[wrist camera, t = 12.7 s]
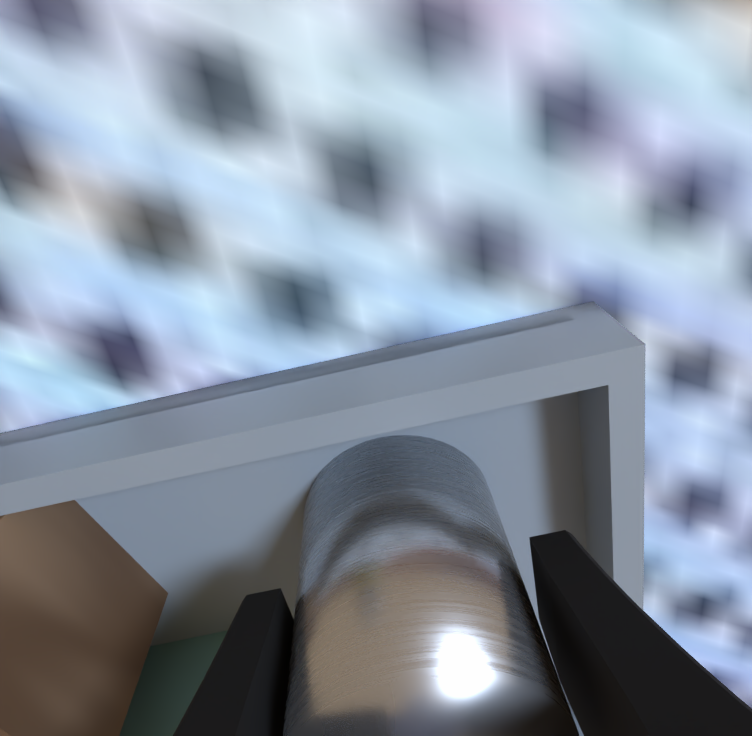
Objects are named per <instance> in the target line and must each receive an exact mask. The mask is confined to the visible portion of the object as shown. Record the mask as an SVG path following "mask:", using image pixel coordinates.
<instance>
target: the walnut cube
mask: <svg viewBox="0 0 752 736" xmlns="http://www.w3.org/2000/svg"><path fill="white" fill-rule="evenodd" d="M167 596H168V592H167V591H166V590H165V589H164V588H163V587H162V586H161V585H160V584H159V583H158V582H157V581H156V580H155V579H154V578H153V577H152V576H151V575H150V574H149V573H148V572H147V571H146V570H145V569H144V568H143V567H142V566H141V565H140V564H139V563H138V562H137V561H136V560H135V559H134V558H133V557H132V556H131V555H130V554H129V553H128V552H127V551H126V550H125V549H124V548H123V547H121V546H120V545H119V544H118V543H117V542H116V541H115V540H114V539H113V538H112V537H111V536H110V535H109V534H108V533H107V532H106V531H105V530H104V529H103V528H102V527H101V526H100V525H99V524H98V523H97V522H96V521H95V520H94V519H93V518H92V517H91V516H90V515H89V514H88V513H87V512H86V511H85V510H84V509H83V508H82V507H81V506H80V505H79V504H78V503H77V502H76V501H75V500H71V501H67V502H62V503H57V504H53V505H48V506H43V507H39V508H34V509H30V510H25V511H20V512H16V513H11V514H6V515H2V516H0V736H119V735H120V732H121V729H122V726H123V723H124V720H125V718H126V715H127V712H128V709H129V706H130V703H131V700H132V697H133V694H134V692H135V689H136V686H137V683H138V680H139V677H140V674H141V671H142V668H143V665H144V663H145V660H146V657H147V654H148V651H149V648H150V645H151V642H152V639H153V637H154V634H155V631H156V628H157V625H158V622H159V619H160V616H161V613H162V610H163V608H164V605H165V602H166V599H167Z"/></svg>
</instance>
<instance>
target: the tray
mask: <svg viewBox="0 0 752 736" xmlns="http://www.w3.org/2000/svg"><path fill="white" fill-rule="evenodd" d="M392 435H413V436H422V437H427V438H432V439H435V440H438V441H442V442H444V443H446V444H449V445H451V446H453V447H455V448H456V449H458V450H460V451H461V452H463V453H464V454H465V455H467V456H468V457H469V458H470V459H471V460H472V461H473V462H474V463H475V464H476V465H477V466H478V467H479V469H480V470H481V472H482V474H483V475H484V477H485V479H486V482H487V484H488V486H489V489H490V492H491V495H492V497H493V500H494V503H495V506H496V508H497V511H498V514H499V516H500V519H501V522H502V525H503V527H504V530H505V533H506V536H507V538H508V541H509V544H510V547H511V549H512V552H513V555H514V557H515V560H516V563H517V566H518V568H519V571H520V574H521V577H522V579H523V582H524V585H525V588H526V590H527V593H528V596H529V598H530V601H531V604H532V607H533V609H534V612H535V615H536V618H537V620H538V623H539V626H540V629H541V631H542V634H543V637H544V639H545V642H546V645H547V648H548V650H549V647H548V644H547V641H546V638H545V635H544V632H543V629H542V626H541V623H540V620H539V615H538V606H537V598H536V589H535V581H534V573H533V564H532V556H531V548H530V539H529V537H533V536H538V535H543V534H548V533H552V532H557V531H562V530H566V531H568V532H570V533H571V534H573V536H574V537H575V538H576V539H577V540H578V542H579V543H580V544H581V545H582V546H583V547H584V549H585V550H586V551H587V552H588V553H589V554H590V555H591V557H592V558H593V559H594V560H595V561H596V562H597V563H598V564H599V565H600V566H601V567H602V569H603V570H604V571H605V572H606V573H607V574H608V575H609V576H610V577H611V578H612V579H613V580H614V581H615V582H616V583H617V584H618V585H619V586H620V588H621V589H622V590H623V591H624V592H625V593H626V594H627V595H628V596H629V597H630V598H631V599H632V600H633V601H634V602H635V603H636V604H637V605H638V606H639V607H640V608H641V609H642V610H643V568H644V446H645V344H644V343H643V342H642V341H641V340H640V339H638V338H637V337H636V336H635V335H633V334H632V333H631V332H630V331H629V330H627V329H626V328H625V327H624V326H622V325H621V324H620V323H619V322H618V321H616V320H615V319H614V318H613V317H611V316H610V315H609V314H608V313H607V312H605V311H604V310H603V309H602V308H600V307H599V306H598V305H597V304H596V303H594V302H589V303H584V304H580V305H576V306H571V307H567V308H562V309H558V310H553V311H549V312H544V313H540V314H535V315H531V316H526V317H522V318H517V319H513V320H508V321H504V322H499V323H495V324H490V325H486V326H481V327H477V328H472V329H468V330H463V331H459V332H454V333H450V334H445V335H441V336H436V337H432V338H427V339H423V340H418V341H414V342H409V343H405V344H400V345H396V346H391V347H387V348H382V349H378V350H373V351H369V352H364V353H360V354H355V355H351V356H346V357H342V358H337V359H333V360H328V361H324V362H319V363H315V364H310V365H306V366H301V367H297V368H292V369H288V370H283V371H279V372H274V373H270V374H265V375H261V376H256V377H252V378H247V379H243V380H238V381H234V382H229V383H225V384H220V385H216V386H211V387H207V388H202V389H198V390H193V391H189V392H184V393H180V394H175V395H171V396H166V397H162V398H157V399H153V400H148V401H144V402H139V403H135V404H130V405H126V406H121V407H117V408H112V409H108V410H103V411H99V412H95V413H90V414H86V415H81V416H77V417H72V418H68V419H63V420H59V421H54V422H50V423H45V424H41V425H36V426H32V427H27V428H23V429H18V430H14V431H9V432H5V433H0V516H2V515H6V514H11V513H16V512H20V511H25V510H30V509H34V508H39V507H43V506H48V505H53V504H57V503H62V502H67V501H71V500H75V501H76V502H77V503H78V504H79V505H80V506H81V507H82V508H83V509H84V510H85V511H86V512H87V513H88V514H89V515H90V516H91V517H92V518H93V519H94V520H95V521H96V522H97V523H98V524H99V525H100V526H101V527H102V528H103V529H104V530H105V531H106V532H107V533H108V534H109V535H110V536H111V537H112V538H113V539H114V540H115V541H116V542H117V543H118V544H119V545H120V546H121V547H123V548H124V549H125V550H126V551H127V552H128V553H129V554H130V555H131V556H132V557H133V558H134V559H135V560H136V561H137V562H138V563H139V564H140V565H141V566H142V567H143V568H144V569H145V570H146V571H147V572H148V573H149V574H150V575H151V576H152V577H153V578H154V579H155V580H156V581H157V582H158V583H159V584H160V585H161V586H162V587H163V588H164V589H165V590H166V591H167V592H168V596H167V599H166V602H165V605H164V608H163V610H162V613H161V616H160V619H159V622H158V625H157V628H156V631H155V634H154V637H153V639H152V642H151V645H150V646H154V645H159V644H164V643H169V642H173V641H178V640H183V639H188V638H193V637H198V636H202V635H207V634H212V633H217V632H222V631H226V630H228V629H229V627H230V625H231V623H232V621H233V619H234V617H235V615H236V613H237V611H238V609H239V607H240V605H241V603H242V601H243V599H244V598H245V597H246V595H249V594H254V593H259V592H264V591H269V590H273V589H278V588H281V590H282V592H283V595H284V597H285V600H286V602H287V604H288V607H289V609H290V611H291V614H292V616H293V619H294V614H295V603H296V592H297V582H298V571H299V561H300V550H301V540H302V529H303V518H304V508H305V501H306V497H307V493H308V491H309V489H310V487H311V484H312V483H313V481H314V479H315V478H316V476H317V475H318V474H319V472H320V471H321V470H322V469H323V468H324V466H326V465H327V464H328V463H329V462H330V461H331V460H332V459H333V458H335V457H336V456H338V455H339V454H341V453H342V452H343V451H345V450H347V449H349V448H351V447H353V446H355V445H357V444H360V443H362V442H365V441H368V440H372V439H376V438H379V437H386V436H392ZM549 653H550V650H549ZM550 656H551V653H550ZM551 659H552V656H551ZM552 661H553V659H552ZM553 664H554V662H553ZM554 667H555V665H554ZM555 669H556V668H555ZM556 672H557V671H556ZM557 675H558V674H557ZM558 678H559V677H558ZM561 686H562V685H561ZM562 689H563V687H562ZM563 691H564V689H563ZM564 694H565V692H564ZM565 697H566V700H567V702H568V705H569V708H570V710H571V713H572V716H573V719H574V721H575V724H576V727H577V730H578V732H579V736H584V735H583V733H582V731H581V728H580V726H579V724H578V721H577V719H576V717H575V715H574V712H573V710H572V708H571V705H570V703H569V701H568V699H567V696H566V694H565Z"/></svg>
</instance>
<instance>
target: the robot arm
mask: <svg viewBox="0 0 752 736" xmlns="http://www.w3.org/2000/svg"><path fill="white" fill-rule="evenodd" d="M529 539H530V548H531V556H532V564H533V573H534V581H535V589H536V598H537V606H538V615H539V620H540V623H541V626H542V629H543V632H544V635H545V638H546V641H547V644H548V647H549V650H550V653H551V656H552V659H553V662H554V665H555V668H556V671H557V674H558V677H559V680H560V683H561V685H562V687H563V689H564V692H565V694H566V696H567V699H568V701H569V703H570V705H571V708H572V710H573V712H574V715H575V717H576V719H577V721H578V724H579V726H580V728H581V731H582V733H583V735H584V736H752V709H751V708H750V707H749V706H748V705H747V704H745V703H744V702H743V701H742V700H741V699H740V698H738V697H737V696H736V695H735V694H734V693H733V692H731V691H730V690H729V689H728V688H727V687H726V686H725V685H723V684H722V683H721V682H720V681H719V680H718V679H717V678H715V677H714V676H713V675H712V674H711V673H710V672H709V671H707V670H706V669H705V668H704V667H703V666H702V665H701V664H700V663H698V662H697V661H696V660H695V659H694V658H693V657H692V656H691V655H690V654H689V653H687V652H686V651H685V650H684V649H683V648H682V647H681V646H680V645H679V644H678V643H677V642H676V641H675V640H674V639H672V638H671V637H670V636H669V635H668V634H667V633H666V632H665V631H664V630H663V629H662V628H661V627H660V626H659V625H658V624H657V623H656V622H655V621H654V620H653V619H652V618H651V617H649V616H648V615H647V614H646V613H645V612H644V611H643V610H642V609H641V608H640V607H639V606H638V605H637V604H636V603H635V602H634V601H633V600H632V599H631V598H630V597H629V596H628V595H627V594H626V593H625V592H624V591H623V590H622V589H621V588H620V586H619V585H618V584H617V583H616V582H615V581H614V580H613V579H612V578H611V577H610V576H609V575H608V574H607V573H606V572H605V571H604V570H603V569H602V567H601V566H600V565H599V564H598V563H597V562H596V561H595V560H594V559H593V558H592V557H591V555H590V554H589V553H588V552H587V551H586V550H585V549H584V547H583V546H582V545H581V544H580V543H579V542H578V540H577V539H576V538H575V537H574V536H573V534H571V533H570V532H568V531H566V530H562V531H557V532H552V533H548V534H543V535H538V536H533V537H529ZM293 624H294V619H293V616H292V614H291V611H290V609H289V607H288V604H287V602H286V600H285V597H284V595H283V592H282V590H281V588H278V589H273V590H269V591H264V592H259V593H254V594H249V595H246V597H245V598H244V599H243V601H242V603H241V605H240V607H239V609H238V611H237V613H236V615H235V617H234V619H233V621H232V623H231V625H230V627H229V629H228V631H227V633H226V635H225V637H224V639H223V641H222V643H221V645H220V647H219V649H218V651H217V653H216V655H215V657H214V659H213V661H212V663H211V665H210V667H209V669H208V671H207V673H206V675H205V677H204V679H203V680H202V682H201V684H200V686H199V688H198V690H197V692H196V693H195V695H194V697H193V699H192V701H191V703H190V705H189V706H188V708H187V710H186V712H185V714H184V716H183V718H182V719H181V721H180V723H179V725H178V727H177V729H176V730H175V732H174V734H173V736H283V730H284V719H285V709H286V698H287V688H288V677H289V667H290V656H291V645H292V635H293Z"/></svg>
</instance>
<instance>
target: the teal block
mask: <svg viewBox="0 0 752 736" xmlns="http://www.w3.org/2000/svg"><path fill="white" fill-rule="evenodd" d="M227 631H228V630H226V631H222V632H217V633H212V634H207V635H202V636H198V637H193V638H188V639H183V640H178V641H173V642H169V643H164V644H159V645H154V646H150V648H149V651H148V654H147V657H146V660H145V663H144V665H143V668H142V671H141V674H140V677H139V680H138V683H137V686H136V689H135V692H134V694H133V697H132V700H131V703H130V706H129V709H128V712H127V715H126V718H125V720H124V723H123V726H122V729H121V732H120V735H119V736H173V734H174V732H175V730H176V729H177V727H178V725H179V723H180V721H181V719H182V718H183V716H184V714H185V712H186V710H187V708H188V706H189V705H190V703H191V701H192V699H193V697H194V695H195V693H196V692H197V690H198V688H199V686H200V684H201V682H202V680H203V679H204V677H205V675H206V673H207V671H208V669H209V667H210V665H211V663H212V661H213V659H214V657H215V655H216V653H217V651H218V649H219V647H220V645H221V643H222V641H223V639H224V637H225V635H226V633H227Z"/></svg>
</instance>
